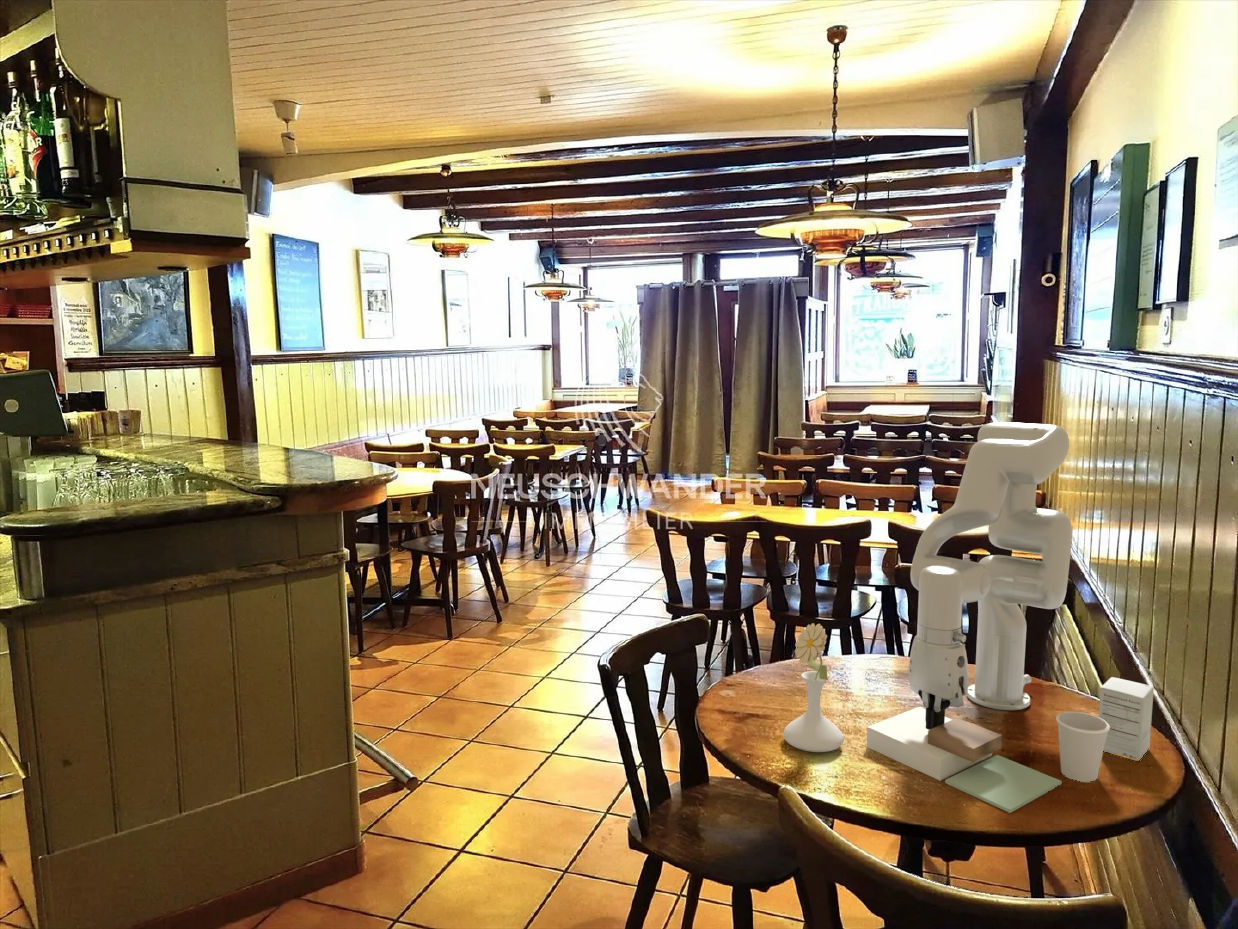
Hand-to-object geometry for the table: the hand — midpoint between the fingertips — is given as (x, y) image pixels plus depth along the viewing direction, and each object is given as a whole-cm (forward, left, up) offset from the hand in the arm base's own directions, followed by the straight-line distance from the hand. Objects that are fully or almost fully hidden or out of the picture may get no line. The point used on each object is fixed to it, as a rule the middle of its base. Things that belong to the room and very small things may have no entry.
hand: (934, 728), depth 159 cm
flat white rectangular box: (0, -1, -5) cm, 5 cm away
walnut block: (0, +6, -1) cm, 6 cm away
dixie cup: (-14, +20, -5) cm, 25 cm away
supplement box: (-30, +20, -5) cm, 36 cm away
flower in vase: (+16, -15, -5) cm, 23 cm away
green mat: (0, +14, -5) cm, 15 cm away
